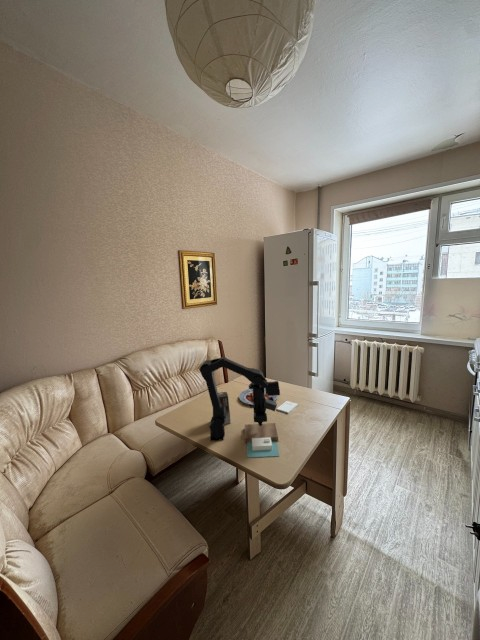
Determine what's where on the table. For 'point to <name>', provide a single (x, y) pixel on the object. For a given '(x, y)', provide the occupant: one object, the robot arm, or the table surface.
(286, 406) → the external hard drive
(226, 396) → the coffee box
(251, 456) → the mat
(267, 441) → the white panel with tab
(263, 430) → the brown flat block
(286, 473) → the table surface
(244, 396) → the ceramic plate
